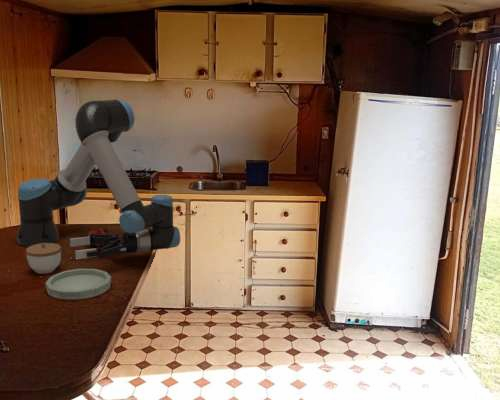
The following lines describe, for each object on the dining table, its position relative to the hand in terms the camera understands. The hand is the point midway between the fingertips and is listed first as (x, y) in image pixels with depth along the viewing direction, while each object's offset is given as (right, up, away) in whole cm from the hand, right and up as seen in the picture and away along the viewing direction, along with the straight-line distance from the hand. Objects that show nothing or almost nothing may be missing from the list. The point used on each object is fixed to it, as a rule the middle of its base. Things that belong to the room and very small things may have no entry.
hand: (72, 248), depth 176 cm
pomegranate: (+2, -1, +23) cm, 23 cm away
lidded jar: (-8, -7, -2) cm, 11 cm away
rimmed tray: (+7, -10, -15) cm, 20 cm away
